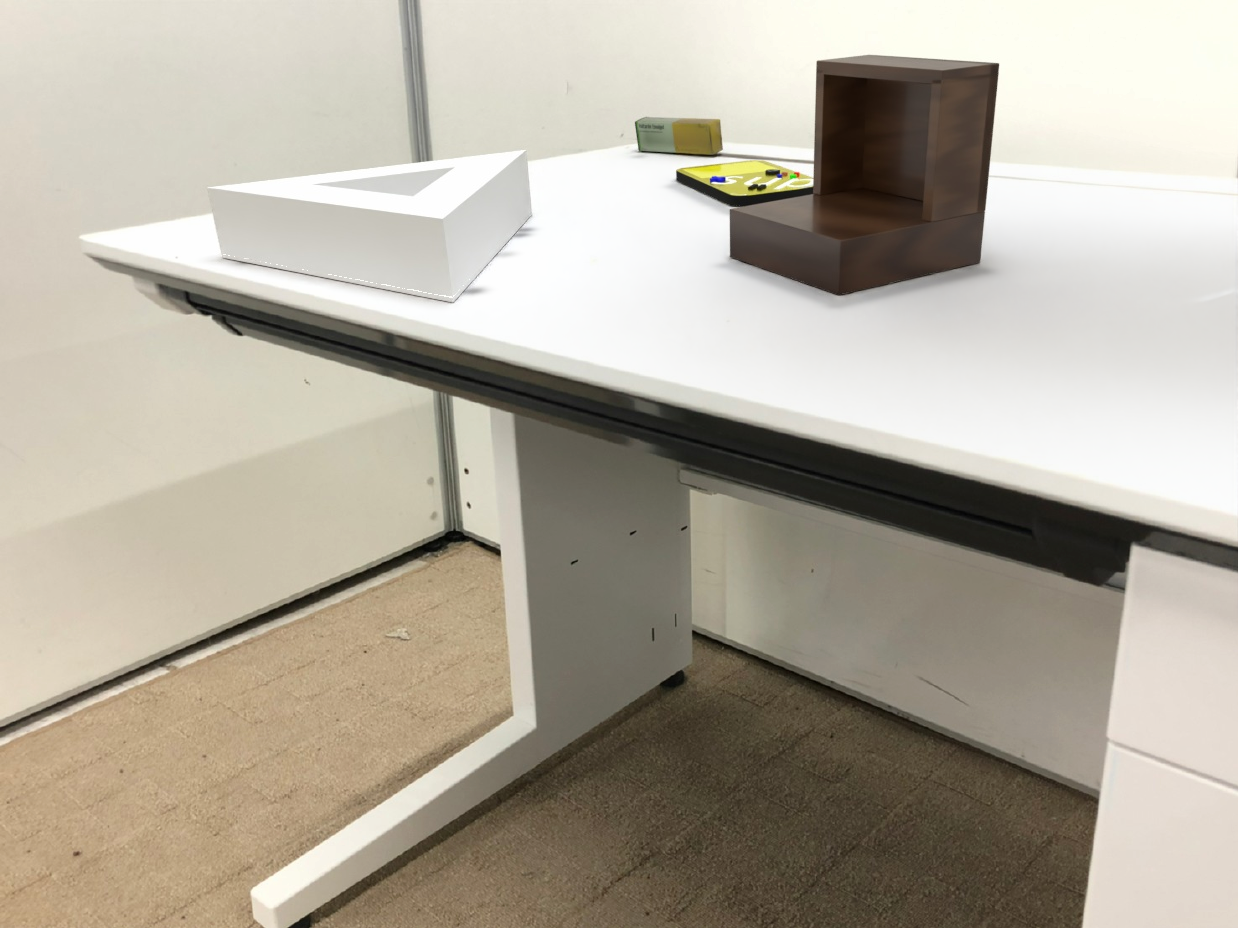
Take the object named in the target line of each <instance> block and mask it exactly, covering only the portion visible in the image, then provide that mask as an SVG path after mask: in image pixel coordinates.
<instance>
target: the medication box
mask: <svg viewBox="0 0 1238 928" xmlns="http://www.w3.org/2000/svg"><path fill="white" fill-rule="evenodd" d="M634 126H635V127H634V128H635V133H636V142H637V149H638V152H656V153H657V152H660V153H673V154H674V153H675V154H692V155H709V156H712V155H714V156H715V154H717V153H720V152H721V151H724V145H723V136H722V135H723V134H722V124H721V119H720V118H696V117H695V118H693V117H691V118H690V117H659V116H655V117H653V116H644V117H641V118H639V119H637V120H635V121H634Z"/></svg>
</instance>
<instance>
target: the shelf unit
mask: <svg viewBox="0 0 1238 928" xmlns="http://www.w3.org/2000/svg"><path fill="white" fill-rule="evenodd" d="M815 67H816V69H815V72H816V73H815V105H814V106H815V107H814V139H813V141H814V142H813V143H814V144H813V145H814V146H813V177H812V178H813V194H811V195H805V196H800V197H794V198H789V199H783V200H777V201H772V202H766V203H761V204H755V205H749V206H744V207H738V206H737V207H734V208H730V209H729V257H730V258H731V259H735V260H738V261H740V262H743V263H746V264H749V265H752V266H755V267H758V268H760V269H764V270H766V271H769V272H770V273H771V272H772V273H774V274H778V275H780V276H783V277H786V278H789V279H792V280H794V281H798V282H801V283H802V284H805V285H809V286H811V287H815V288H817V289H820V290H823V291H826V292H829V293H832V294H835V295H837V296H840V295H845V294H850V293H854V292H858V291H863V290H867V289H872V288H876V287H880V286H884V285H888V284H893V283H897V282H901V281H906V280H911V279H914V278H918V277H923V276H928V275H931V274H932V275H933V274H936V273H940V272H945V271H948V270H953V269H958V268H962V267H966V266H971V265H974V264H979V263H981V258H982V257H981V256H982V247H983V236H984V226H985V217H986V216H985V215H986V207H987V197H988V188H989V187H988V186H989V177H990V166H991V165H990V164H991V155H992V147H993V146H992V144H993V136H994V125H995V116H996V105H997V104H996V103H997V95H998V83H999V75H1000V74H999V72H1000V63H999V62H987V61H975V60H973V61H972V60H957V59H942V58H941V59H940V58H927V57H910V56H896V55H879V54H864V55H855V56H854V55H853V56H846V57H837V58H828V59H820V60H819V59H818V60H816V64H815Z"/></svg>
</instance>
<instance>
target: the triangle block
mask: <svg viewBox="0 0 1238 928" xmlns="http://www.w3.org/2000/svg"><path fill="white" fill-rule="evenodd" d="M206 190H207V194H208V195H207V196H208V199H209V203H210V209H211V214H212V218H213V222H214V226H215V231H216V236H217V240H218V241H217V242H218V246H219V250H220V254H221V258H223V259H226V260H227V259H228V260H232V261H238V262H242V263H248V264H254V265H259V266H263V267H268V268H273V269H278V270H283V271H289V272H293V273H299V274H304V275H309V276H315V277H318V278H319V277H320V278H325V279H331V280H335V281H341V282H344V283H345V282H346V283H349V284H350V283H351V284H355V285H360V286H366V287H370V288H377V289H382V290H386V291H391V292H396V293H400V294H401V293H403V294H408V295H413V296H418V297H422V298H428V299H433V300H438V301H443V302H448V303H454V302H455V301H456V300H457V299H458V298H459V297H460V296H461V295H462V294H463V292H464V291H465V290H466V289H467V288H468V287H469V285H470V284H471V283H472V282H473V281H474V280H475V279H476V278H477V277H478V276H479V274H481V272H482V271H483V269H485V268H486V267H487V265H488V264H489V263H490V262H492V259H494V258H495V256H496V255H497V254H498V253H499V252H500V251H501V250H502V249H503V248H504V247H505V245H506V244H507V243H508V242H509V241H510V240H511V239H512V238H513V236H514V235H515V234H516V233H517V232H518V231H519V230H520V229H521V227H522V226H524V225H525V223H526V222H527V221H528V220H529V218H530V217H531V216H532V215H533V209H532V197H531V186H530V175H529V164H528V152H527V149H522V150H512V151H505V152H496V153H487V154H479V155H472V156H461V157H455V158H445V159H437V160H428V161H419V162H411V163H404V164H395V165H387V166H377V167H369V168H360V169H352V170H344V171H335V172H325V173H319V174H310V175H302V176H292V177H284V178H275V179H267V180H260V181H250V182H242V183H233V184H225V185H217V186H216V185H215V186H207V187H206ZM223 254H226V255H223ZM228 255H230V256H228ZM234 256H235V257H234ZM244 258H249V259H252V260H249V259H244ZM255 260H257V261H255ZM260 261H261V262H260ZM265 262H267V263H265ZM270 263H271V264H270ZM276 264H278V265H276ZM281 265H283V266H281ZM286 266H287V267H286ZM302 269H304V270H302ZM307 270H308V271H307ZM328 274H332V275H328ZM334 275H337V276H334ZM339 276H342V277H339ZM344 277H347V278H344ZM349 278H352V279H349ZM355 279H360V280H364V281H360V280H355ZM469 279H470V280H469ZM365 281H368V282H365ZM370 282H373V283H370ZM376 283H377V284H376ZM381 284H387V285H391V286H386V285H381ZM463 285H464V286H463ZM392 286H395V287H392ZM397 287H400V288H397ZM402 288H403V289H402ZM404 288H405V289H404ZM407 289H414V290H419V291H422V292H418V291H413V290H407ZM459 289H460V291H459V292H458V290H459ZM423 292H427V293H423ZM457 292H458V293H457ZM428 293H432V294H428ZM456 293H457V294H456ZM434 294H438V295H434ZM455 294H456V295H455ZM439 295H446V296H452V297H453V295H455V296H454V297H453V298H449V297H444V296H439Z"/></svg>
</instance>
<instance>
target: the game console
mask: <svg viewBox="0 0 1238 928" xmlns="http://www.w3.org/2000/svg"><path fill="white" fill-rule="evenodd" d="M675 176H676V177H675V178H676V180H675V181H676V182H678V183H680V184H682V185H685V186H686V187H688V188H691V189H693V190H695V191H697V192H699V193H702V194H704V195H706V196H708V197H710V198H712V199H714V200H717V201H718V202H721V203H723V204H725V205H727V206H731V207H737V208H738V207H744V206H749V205H755V204H761V203H766V202H772V201H777V200H783V199H789V198H794V197H800V196H805V195H811V194H813V177H812V176H809V175H807V174H803V173H801V172H799V171H795V170H792V169H790V168H787V167H783V166H780V165H778V164H776V163H773V162H770V161H766V160H759V159H758V160H757V159H756V160H755V159H752V160H751V159H750V160H740V161H733V162H723V163H722V162H721V163H714V164H706V165H705V164H704V165H696V166H687V167H680V168H678V169H676V170H675Z"/></svg>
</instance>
